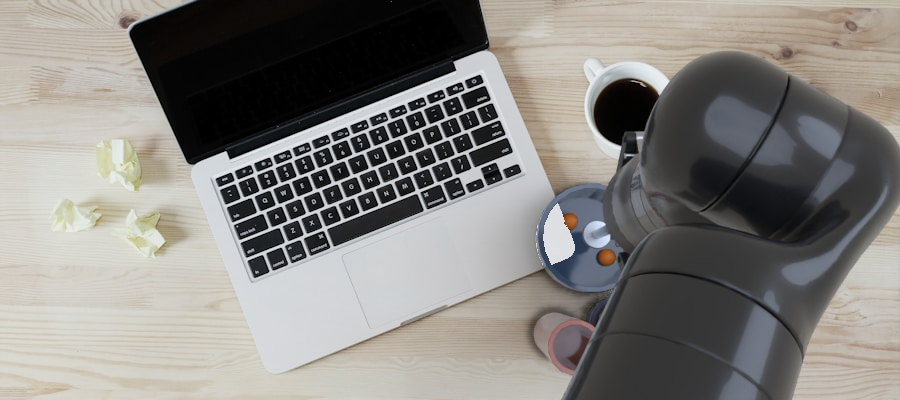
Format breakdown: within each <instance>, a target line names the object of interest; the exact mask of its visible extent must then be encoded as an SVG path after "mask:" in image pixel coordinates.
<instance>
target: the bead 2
mask: <svg viewBox="0 0 900 400" xmlns="http://www.w3.org/2000/svg"><path fill="white" fill-rule="evenodd" d="M598 258H599V261H600V263H601V264H602V265H605V266H610V265H612V264H613V263H614V262H615V260H616V255H615V253H614V251H612V250H611V249H604V250H602V251H601V252H600V253H599V257H598Z"/></svg>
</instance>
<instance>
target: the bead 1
mask: <svg viewBox="0 0 900 400" xmlns="http://www.w3.org/2000/svg"><path fill="white" fill-rule="evenodd" d="M563 217H564V220H565V222H564V224H565V225H567V226H566V227H568V229H569V230H573V229H575V228H576V227H577V225H578V218H577V216H576V215H575V214H573V213H567V214H565V215H564V216H563Z"/></svg>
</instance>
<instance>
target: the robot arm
mask: <svg viewBox="0 0 900 400" xmlns="http://www.w3.org/2000/svg"><path fill="white" fill-rule="evenodd" d="M652 107H653V108H652V110H651V112H650V115H649V116H648V119H647V122H646V124H645V128H644V131H624V132H623V136H622V141H621V146H620V150H619V151H620V152H619V156H618V161H617V166H616V171H615V173H614V174H613V176H612V177H611V179H610V180H609V182H608V183H607V185H606V186H607V188H606V190H605V194H604V198H603V217H604V221H605V224H606V227H607V229H608V231H609V233H610V240H614V241H615V245H616V247H621V248H622V249H623V252H619V253H618V257H617V263H618V265H619V268H620V271H621V274H620V276H619V278H618V280H617V282H616V284H615V287H614V289H612V292H611V293H610V295H609V297H608V298H609V300H608V302H607V304H606V306H605V308H604V310H603V312H602V314H601V317H600V319H599V321H598V323H597V325H596V327H595V329H594V331H593V334H592V336H591V338H590V340H589V342H588V344H587V346H586V349H585V351H584V353H583V355H582V357H581V359H580V361H579V364H578V366H577V368H576V370H575V372H574V374H573V376H572V375H571V379H570V381H569V383H568V385H567V387H566V389H565V391H564V393H563V395H562V397H561V399H560V400H793V398H794V394H795V391H796V387H797V384H798V381H799V377H800V375H801V370H802V366H803V364H804V360H805V356H806V352H807V349H808V346H809V343H810V341H811V339H812V337H813V335H814V332H815V330H816V329H817V326H818V325H819V323H820V320H821V319H822V318H823V316H824V315H825V313H826V310H827V309H828V307H829V306H830V304H831V302H832V300H833V299H834V297H835V295H836V294H837V292H838V290H839V289H840V288H841V286H842V285H843V283H844V281H845V280H846V279H847V276H848V275H849V274H850V272H851V270H852V269H853V268H854V266H855V265H856V264H857V263H858V261H859V260H860V258H862V256H863V254H865V252H866V251H867V250H868V248H870V246H871V245H872V244H873V242H874V241H875V240H876V238H878V236H879V235H880V234H881V233H882V231H883V230H884V229H885V227H886V226H887V224H888V223H889V222H890V221H891V219H892V218H893V216H894V214H895V213H896V211H897V210H898V208H899V207H900V144H899V142H898V140H897V139H896V137H895V136H894V134H893V133H892V132H891V131H890V130H889V129H888V128H887V127H886V126H884V125H883V124H882V123H881V122H879V121H878V120H877V119H875V118H873V117H872V116H869V115H868V114H867V113H865V112H863V111H861V110H859V109H857V108H855V107H854V106H851V105H850V104H847V103H845V102H844V101H842V100H840V99H838V98H836V97H834V96H833V95H830V94H829V93H827V92H825V91H823V90H821V89H819V88H817V87H815V86H814V85H812V84H810V83H808V82H806V81H804V80H803V79H800V78H799V77H797V76H795V75H793V74H791V73H788V72H787V70H785V69H783V68H781V67H780V66H777V65H775V64H773V63H771V62H770V61H768V60H766V59H765V58H762V57H760V56H757V55H754V54H751V53H748V52H744V51H740V50H739V51H738V50H720V51H713V52H709V53H706V54H704V55H700V56H698V57H697V58H694V59H692V60H691V61H690V62H688V63H687V64H685V65H684V66H683V67H682V68H681V69H679V70H678V71H677V72H676V73H675V75H674V76H672V78H671V79H670V80H669V81H668V83H667V84H666V85H665V87H664V88H663V90H662V91H661V93H660V94H659V96H658V98H657V100H656V102H655V103H654V105H653V106H652Z"/></svg>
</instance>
